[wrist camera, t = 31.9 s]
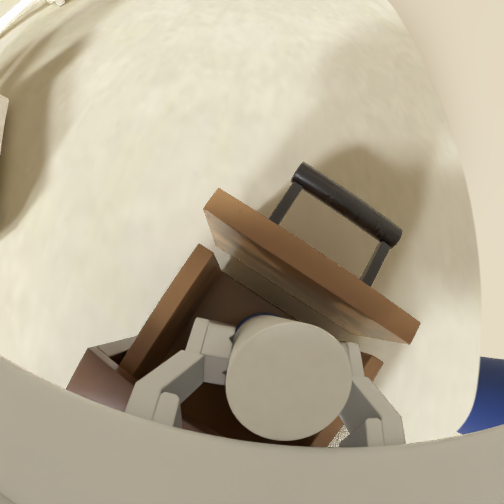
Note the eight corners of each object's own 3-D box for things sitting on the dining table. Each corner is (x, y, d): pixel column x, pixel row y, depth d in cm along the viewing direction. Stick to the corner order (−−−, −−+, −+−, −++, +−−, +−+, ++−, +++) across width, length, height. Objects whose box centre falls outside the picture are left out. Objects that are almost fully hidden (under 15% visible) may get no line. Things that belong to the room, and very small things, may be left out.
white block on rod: (84, -52, 19) (-59, 72, 19) (103, -19, 27) (-33, 91, 27) (82, -59, 20) (-48, 49, 20) (98, -30, 29) (-26, 67, 29)
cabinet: (150, 331, 20) (87, 347, 11) (296, 423, 19) (333, 491, 10) (75, 456, 17) (17, 504, 8) (198, 531, 17) (185, 603, 7)
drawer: (263, 177, 21) (276, 114, 14) (390, 262, 21) (454, 239, 13) (122, 386, 18) (69, 420, 11) (256, 468, 18) (264, 532, 10)
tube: (305, 333, 16) (379, 358, 7) (271, 384, 15) (306, 462, 6) (253, 300, 16) (271, 291, 7) (218, 352, 15) (195, 404, 7)
